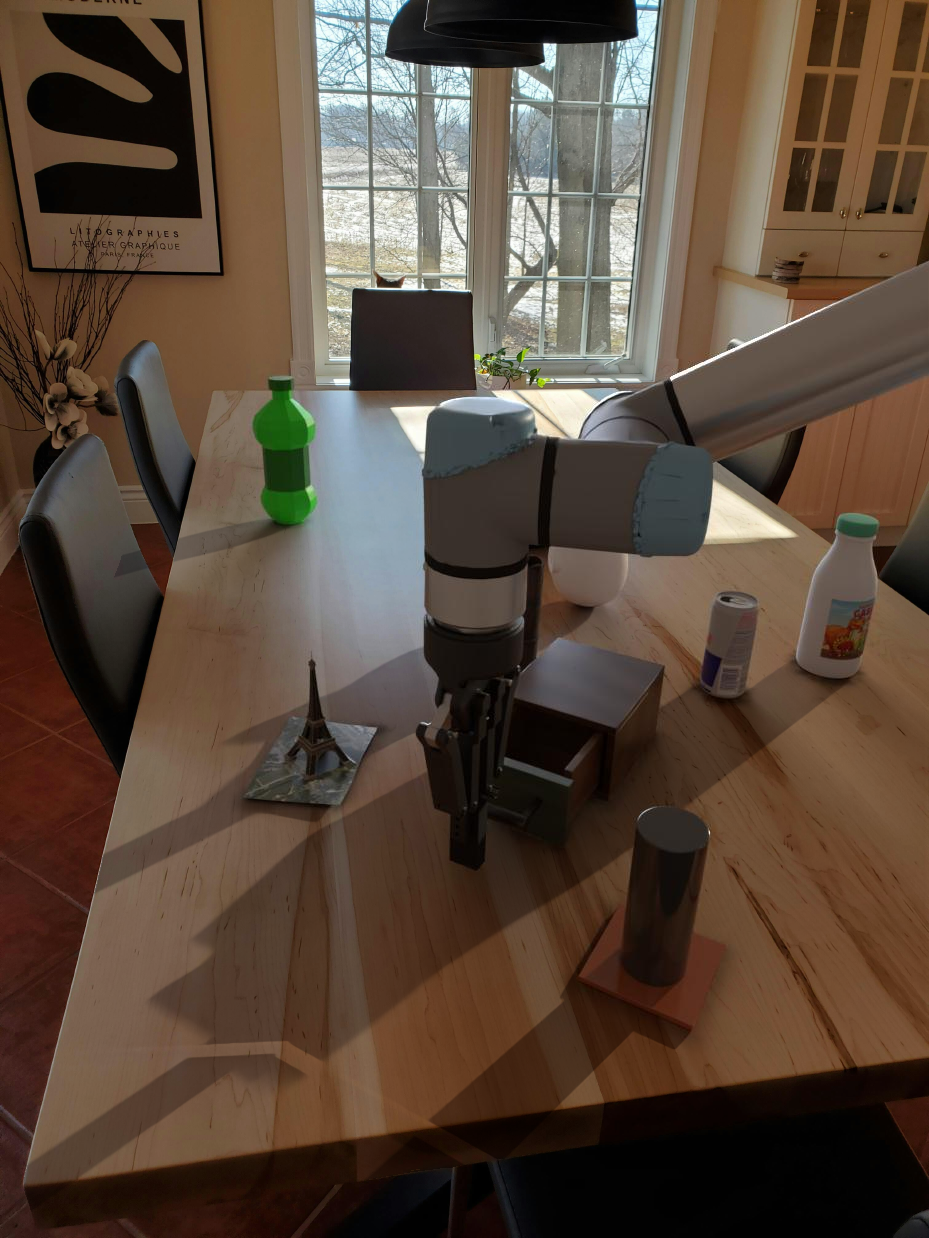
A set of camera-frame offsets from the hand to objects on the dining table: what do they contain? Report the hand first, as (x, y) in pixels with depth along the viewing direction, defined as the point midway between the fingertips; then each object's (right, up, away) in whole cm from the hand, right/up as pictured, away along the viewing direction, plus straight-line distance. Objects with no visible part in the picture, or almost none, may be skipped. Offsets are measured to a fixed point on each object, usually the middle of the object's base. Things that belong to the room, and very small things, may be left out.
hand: (467, 860), depth 77 cm
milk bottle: (+46, +15, +39) cm, 62 cm away
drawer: (+6, +3, +11) cm, 13 cm away
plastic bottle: (-31, +38, +84) cm, 98 cm away
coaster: (+15, -6, -6) cm, 17 cm away
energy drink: (+31, +12, +33) cm, 47 cm away
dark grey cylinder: (+15, -6, -7) cm, 17 cm away
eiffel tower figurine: (-16, +6, +17) cm, 24 cm away
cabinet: (+12, +7, +21) cm, 25 cm away
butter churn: (+7, +14, +36) cm, 39 cm away
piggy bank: (+17, +23, +54) cm, 62 cm away
